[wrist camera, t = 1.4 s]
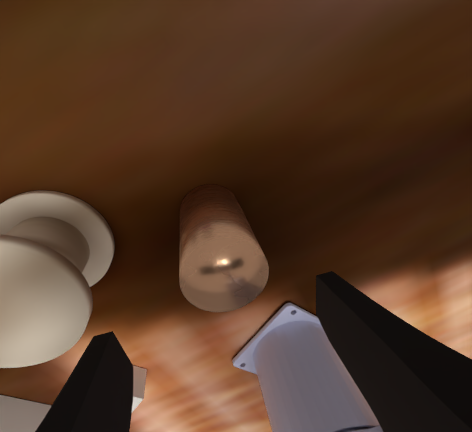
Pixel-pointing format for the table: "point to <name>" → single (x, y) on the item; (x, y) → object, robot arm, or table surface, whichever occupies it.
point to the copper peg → (218, 251)
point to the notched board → (32, 413)
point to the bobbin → (48, 273)
